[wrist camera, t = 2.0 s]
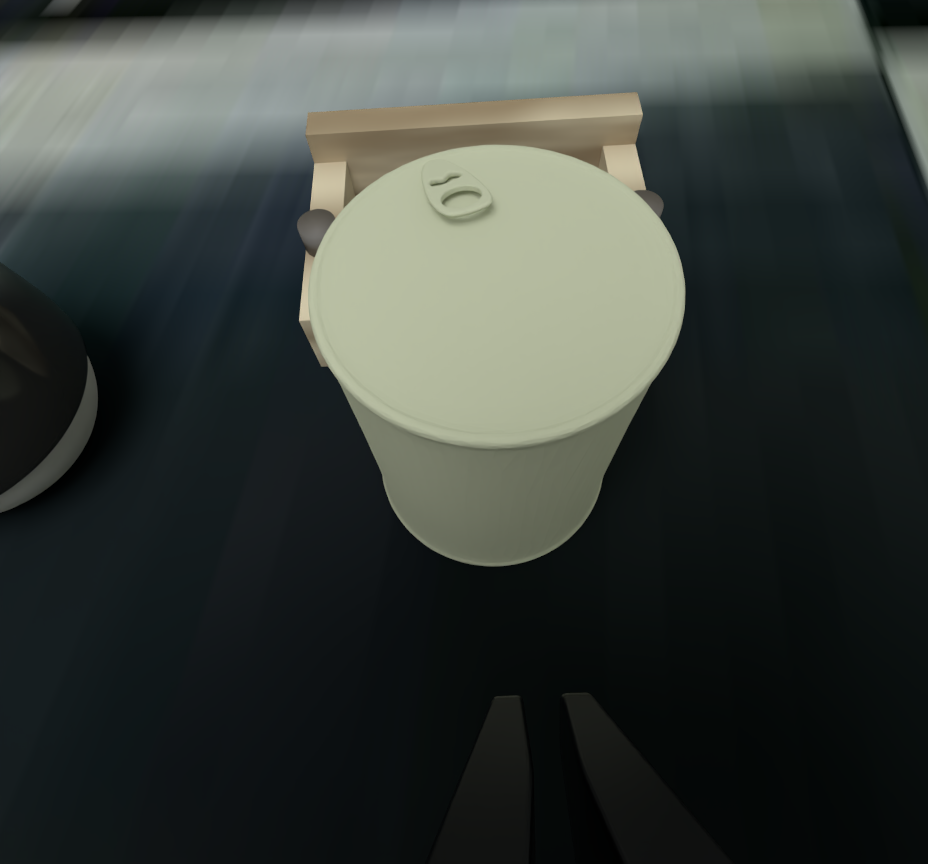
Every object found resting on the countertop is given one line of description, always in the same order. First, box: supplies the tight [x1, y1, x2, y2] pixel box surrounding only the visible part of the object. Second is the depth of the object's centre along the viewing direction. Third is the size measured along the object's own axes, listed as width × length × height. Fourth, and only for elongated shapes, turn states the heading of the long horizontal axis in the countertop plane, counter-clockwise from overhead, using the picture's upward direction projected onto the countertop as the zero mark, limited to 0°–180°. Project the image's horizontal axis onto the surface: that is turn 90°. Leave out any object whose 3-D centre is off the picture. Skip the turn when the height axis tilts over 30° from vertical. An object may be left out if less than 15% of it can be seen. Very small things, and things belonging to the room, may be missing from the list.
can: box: [308, 145, 685, 566], centre depth 19 cm, size 9×9×12 cm
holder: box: [297, 92, 663, 367], centre depth 27 cm, size 10×15×5 cm
